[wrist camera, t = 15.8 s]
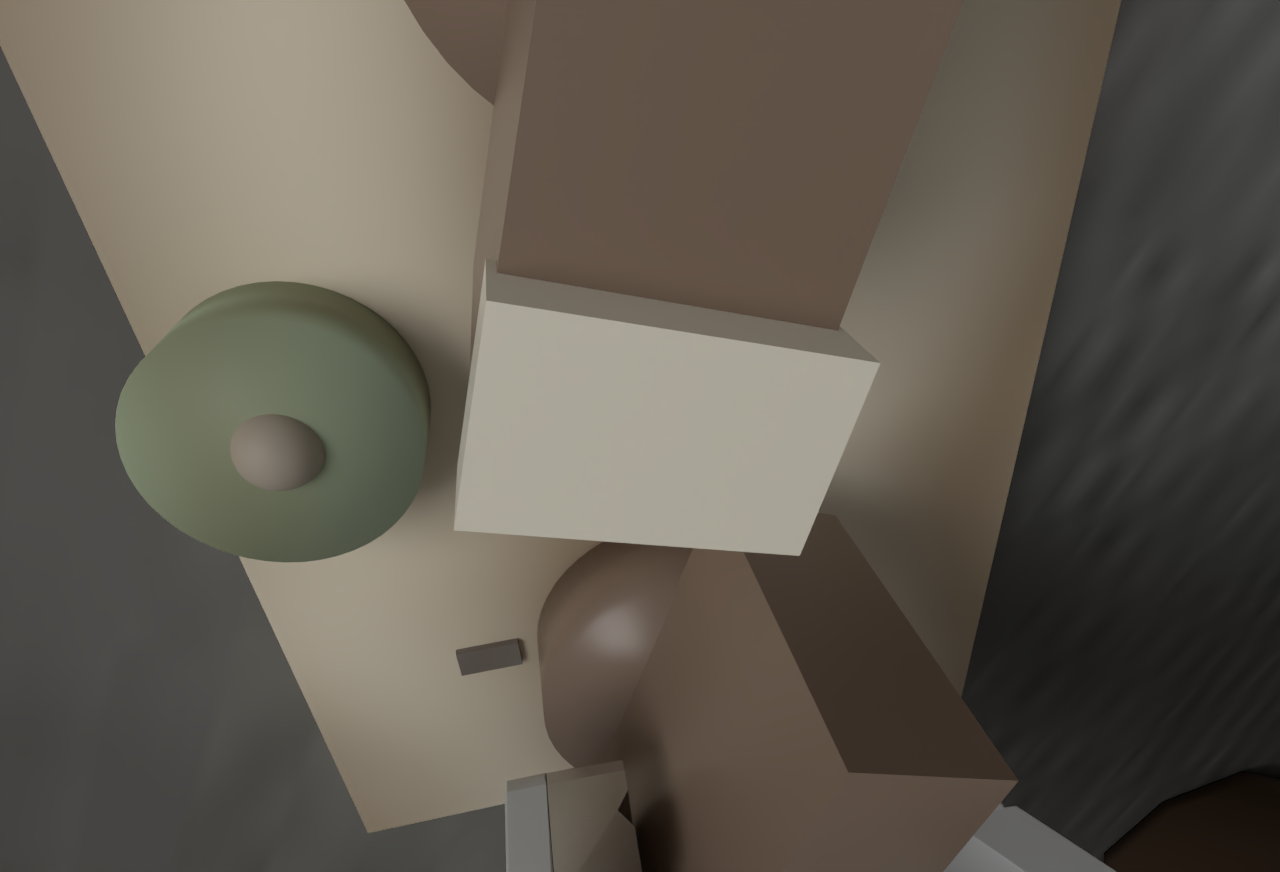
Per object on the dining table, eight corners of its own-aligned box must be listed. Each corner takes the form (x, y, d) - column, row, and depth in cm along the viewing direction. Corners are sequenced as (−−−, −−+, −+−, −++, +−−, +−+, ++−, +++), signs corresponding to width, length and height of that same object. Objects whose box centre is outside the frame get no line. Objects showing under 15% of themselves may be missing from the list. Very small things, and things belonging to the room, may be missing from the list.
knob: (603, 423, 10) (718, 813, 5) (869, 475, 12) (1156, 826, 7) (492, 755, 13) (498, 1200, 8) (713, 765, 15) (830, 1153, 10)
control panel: (1116, -601, 8) (1543, -1007, 5) (911, 634, 17) (1006, 774, 14) (-184, -615, 6) (-833, -1216, 3) (375, 743, 16) (349, 923, 12)
